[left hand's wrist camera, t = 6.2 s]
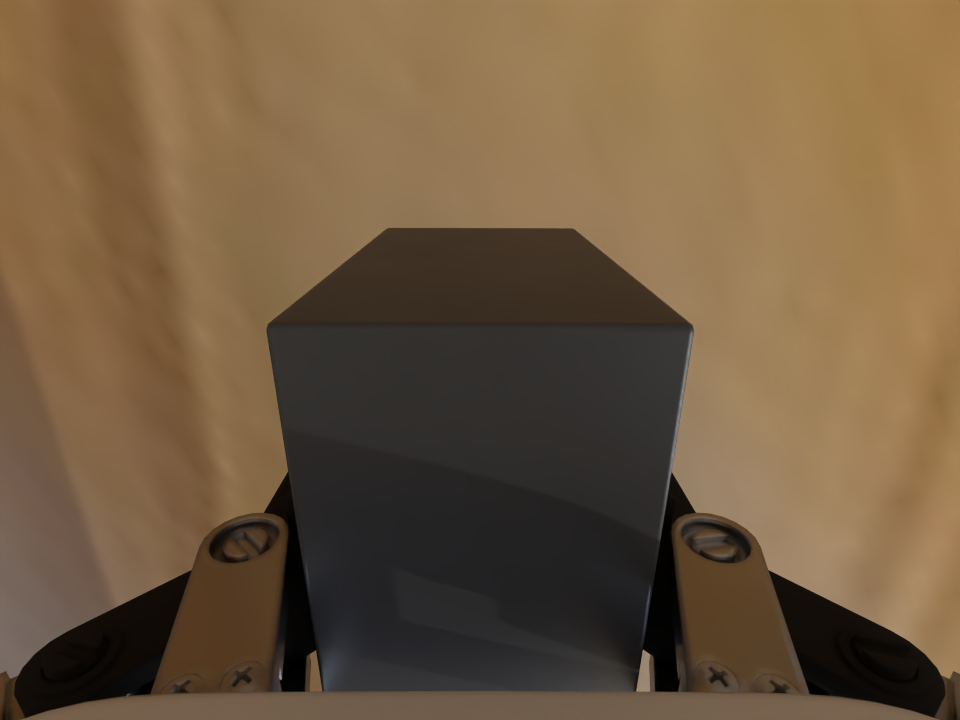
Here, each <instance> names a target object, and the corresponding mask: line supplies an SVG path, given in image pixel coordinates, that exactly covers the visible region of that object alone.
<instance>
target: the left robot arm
mask: <svg viewBox="0 0 960 720" xmlns="http://www.w3.org/2000/svg"><path fill="white" fill-rule="evenodd" d="M315 650H316V646H315V639H314V633H313V626H312V620H311V614H310V607H309V601H308V594H307V588H306V581H305V575H304V568H303V562H302V556H301V549H300V543H299V536H298V530H297V523H296V517H295V510H294V504H293V498H292V491H291V485H290V478H289V472H288V473H287V475H286V476H285V478H284V480H283V481H282V483H281V485H280V486H279V488H278V490H277V491H276V493H275V495H274V496H273V498H272V500H271V502H270V503H269V505H268V507H267V508H266V510H265V512H264V513H251V514H247V515H243V516H238V517H236V518H233V519H231V520H229V521H226V522H224V523H222V524H221V525H219V526H218V527H216V528H215V529H213V530H212V531H211V532H210V533H209V534H208V535H207V536H206V537H205V538H204V540H203V542H202V543H201V545H200V547H199V550H198V553H197V556H196V559H195V562H194V565H193V568H192V570H191V571H189V572H187V573H185V574H183V575H181V576H179V577H177V578H175V579H173V580H171V581H168V582H166V583H164V584H162V585H160V586H158V587H156V588H154V589H152V590H150V591H148V592H146V593H144V594H142V595H140V596H138V597H136V598H134V599H132V600H130V601H128V602H126V603H124V604H122V605H120V606H118V607H116V608H114V609H112V610H110V611H108V612H106V613H104V614H102V615H100V616H98V617H96V618H94V619H92V620H90V621H88V622H86V623H84V624H82V625H80V626H78V627H76V628H74V629H72V630H69V631H68V632H66V633H64V634H62V635H61V636H59V637H57V638H56V639H54V640H52V641H51V642H49V643H48V644H47V645H46V646H44V647H43V648H42V649H41V650H39V651H38V652H37V653H36V654H35V655H34V656H33V657H32V658H31V659H30V660H29V661H28V662H27V664H26V665H25V666H24V667H23V668H22V670H21V672H20V674H19V676H16V677H14V678H12V679H10V678H9V676H8V674H7V672H3V673H1V674H0V720H960V674H959V673H956V672H954V671H953V673H952V675H951V677H950V679H948V678H946V677H944V676H941V675H940V673H939V671H938V669H937V667H936V666H935V665H934V664H933V663H932V662H931V661H930V660H929V658H928V657H927V656H926V655H925V654H924V653H923V652H922V651H920V650H919V649H918V648H917V647H915V646H914V645H913V644H912V643H910V642H909V641H907V640H906V639H904V638H902V637H901V636H899V635H897V634H896V633H894V632H892V631H890V630H888V629H886V628H884V627H882V626H880V625H878V624H876V623H874V622H872V621H870V620H868V619H866V618H864V617H862V616H860V615H858V614H856V613H854V612H852V611H850V610H848V609H846V608H844V607H842V606H840V605H838V604H836V603H834V602H832V601H830V600H828V599H826V598H824V597H822V596H819V595H817V594H815V593H813V592H811V591H809V590H807V589H805V588H803V587H801V586H799V585H797V584H795V583H793V582H791V581H789V580H787V579H785V578H783V577H781V576H779V575H777V574H775V573H773V572H771V571H769V570H768V568H767V565H766V562H765V559H764V556H763V553H762V550H761V547H760V545H759V543H758V542H757V540H756V538H755V537H754V536H753V535H752V534H751V533H750V532H749V531H748V530H747V529H745V528H744V527H742V526H741V525H739V524H738V523H736V522H734V521H731V520H729V519H727V518H724V517H722V516H717V515H713V514H709V513H696V512H695V511H694V509H693V507H692V506H691V504H690V502H689V500H688V499H687V497H686V495H685V494H684V492H683V490H682V489H681V487H680V485H679V484H678V482H677V480H676V479H675V477H674V475H673V473H672V472H671V478H670V484H669V490H668V496H667V502H666V509H665V515H664V521H663V527H662V533H661V540H660V546H659V552H658V558H657V564H656V570H655V577H654V583H653V589H652V595H651V601H650V608H649V614H648V620H647V626H646V632H645V639H644V645H643V650H645V651H646V652H648V653H649V654H650V660H649V671H650V692H588V691H372V692H310V671H311V660H310V653H312V652H313V651H315Z"/></svg>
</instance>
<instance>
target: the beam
mask: <svg viewBox="0 0 960 720" xmlns="http://www.w3.org/2000/svg"><path fill="white" fill-rule="evenodd" d="M693 335H694V329H693V325H692V324H691V323H689V322H688V321H687V320H686V319H684V318H683V317H682V316H681V315H679V314H678V313H677V312H676V311H674V310H673V309H672V308H671V307H670V306H668V305H667V304H666V303H665V302H663V301H662V300H661V299H660V298H658V297H657V296H656V295H655V294H654V293H652V292H651V291H650V290H649V289H647V288H646V287H645V286H644V285H642V284H641V283H640V282H639V281H637V280H636V279H635V278H634V277H633V276H631V275H630V274H629V273H628V272H626V271H625V270H624V269H623V268H621V267H620V266H619V265H618V264H616V263H615V262H614V261H613V260H612V259H610V258H609V257H608V256H607V255H605V254H604V253H603V252H602V251H600V250H599V249H598V248H597V247H595V246H594V245H593V244H592V243H591V242H589V241H588V240H587V239H586V238H584V237H583V236H582V235H581V234H579V233H578V232H577V231H576V230H574V229H558V228H388V229H386V230H385V231H383V232H382V233H381V234H380V235H378V236H377V237H376V238H375V239H373V240H372V241H371V242H370V243H368V244H367V245H366V246H365V247H363V248H362V249H361V250H360V251H358V252H357V253H356V254H355V255H353V256H352V257H351V258H350V259H348V260H347V261H346V262H345V263H343V264H342V265H341V266H340V267H338V268H337V269H336V270H335V271H333V272H332V273H331V274H330V275H328V276H327V277H326V278H325V279H323V280H322V281H321V282H320V283H318V284H317V285H316V286H315V287H313V288H312V289H311V290H310V291H308V292H307V293H306V294H305V295H304V296H302V297H301V298H300V299H299V300H297V301H296V302H295V303H294V304H292V305H291V306H290V307H289V308H287V309H286V310H285V311H284V312H282V313H281V314H280V315H279V316H277V317H276V318H275V319H274V320H272V321H271V322H270V323H269V324H268V326H267V337H268V343H269V350H270V356H271V362H272V369H273V375H274V382H275V388H276V395H277V401H278V407H279V414H280V420H281V427H282V433H283V440H284V446H285V453H286V459H287V465H288V472H289V478H290V485H291V491H292V498H293V504H294V510H295V517H296V523H297V530H298V536H299V543H300V549H301V556H302V562H303V568H304V575H305V581H306V588H307V594H308V601H309V607H310V614H311V620H312V626H313V633H314V639H315V646H316V652H317V659H318V665H319V671H320V678H321V684H322V691H323V692H372V691H588V692H636V688H637V682H638V676H639V670H640V663H641V657H642V651H643V645H644V639H645V632H646V626H647V620H648V614H649V608H650V601H651V595H652V589H653V583H654V577H655V570H656V564H657V558H658V552H659V546H660V540H661V533H662V527H663V521H664V515H665V509H666V502H667V496H668V490H669V484H670V478H671V471H672V465H673V459H674V453H675V447H676V440H677V434H678V428H679V422H680V416H681V409H682V403H683V397H684V391H685V385H686V378H687V372H688V366H689V360H690V354H691V347H692V341H693Z"/></svg>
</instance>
